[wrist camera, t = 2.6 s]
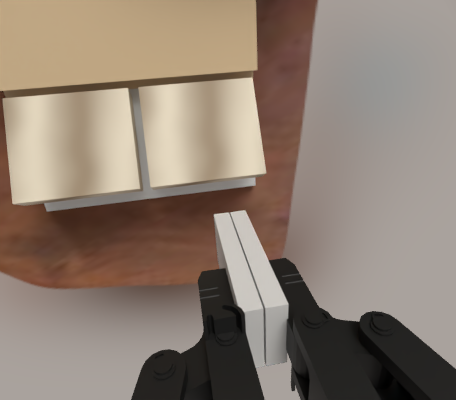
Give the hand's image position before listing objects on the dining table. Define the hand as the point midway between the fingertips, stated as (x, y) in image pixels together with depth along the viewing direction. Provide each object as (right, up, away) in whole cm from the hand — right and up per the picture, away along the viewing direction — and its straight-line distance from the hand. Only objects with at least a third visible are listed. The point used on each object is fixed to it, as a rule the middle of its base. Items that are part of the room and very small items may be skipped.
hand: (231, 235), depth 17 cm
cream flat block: (-12, +6, +10) cm, 17 cm away
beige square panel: (-2, +7, +11) cm, 14 cm away
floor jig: (-8, +10, +12) cm, 18 cm away
